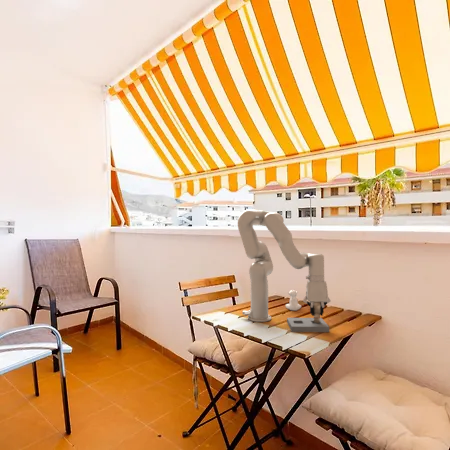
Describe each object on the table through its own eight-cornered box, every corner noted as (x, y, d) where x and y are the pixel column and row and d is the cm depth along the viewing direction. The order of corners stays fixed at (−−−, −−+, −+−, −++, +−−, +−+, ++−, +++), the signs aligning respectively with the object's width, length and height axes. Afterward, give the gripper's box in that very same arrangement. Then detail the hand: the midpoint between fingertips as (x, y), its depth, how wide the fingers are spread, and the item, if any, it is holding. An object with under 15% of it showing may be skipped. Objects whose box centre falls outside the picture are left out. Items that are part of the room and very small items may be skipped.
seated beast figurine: (301, 307, 197) (301, 288, 197) (302, 311, 188) (302, 291, 188) (285, 307, 198) (285, 287, 198) (286, 311, 190) (285, 290, 190)
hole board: (291, 331, 155) (291, 326, 155) (287, 322, 169) (287, 317, 169) (329, 332, 154) (329, 326, 154) (321, 322, 168) (321, 317, 168)
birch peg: (314, 323, 159) (313, 299, 159) (312, 321, 163) (312, 297, 163) (321, 323, 159) (321, 299, 159) (319, 320, 163) (319, 297, 162)
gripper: (301, 280, 157) (301, 317, 157) (335, 279, 157) (335, 317, 157) (298, 277, 165) (298, 312, 165) (330, 277, 164) (331, 312, 164)
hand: (316, 314), depth 161 cm, fingers closed on birch peg, 3 cm apart
